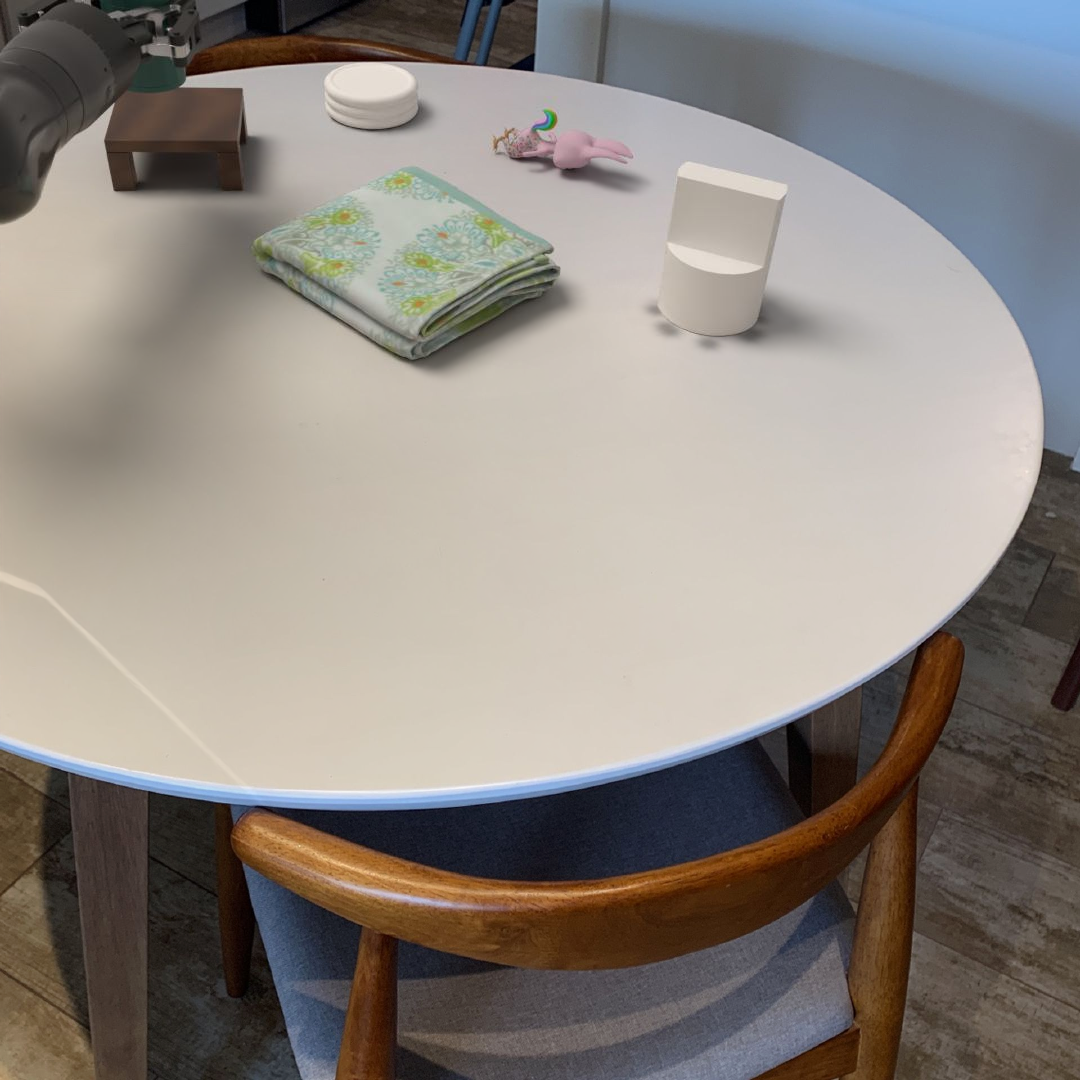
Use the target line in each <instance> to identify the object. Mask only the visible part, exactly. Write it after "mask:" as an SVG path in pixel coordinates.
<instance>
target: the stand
mask: <svg viewBox="0 0 1080 1080" xmlns="http://www.w3.org/2000/svg"><path fill="white" fill-rule="evenodd" d="M247 125H248V124H247V116H246V107H245V97H244V88H243V87H197V86H196V87H195V86H194V87H193V86H192V87H189V86H188V87H185V86H180V87H178V88H176V89H173V90H170V91H166V92H160V93H137V92H131V91H128V90H127V91H126V92H125V93H124V94H123V95H122V96H121V97H120V98H119V99H118V100H117V101H116V102H115V103H114V104H113V108H112V110H111V115H110V118H109V121H108V125H107V128H106V132H105V135H104V139H103V143H104V148H105V153H106V158H107V162H108V169H109V174H110V180H111V185H112V190H113V191H136V187H137V185H138V176H137V171H136V164H135V159H134V153H216V157H217V158H216V159H217V164H218V173H219V180H220V187H221V190H222V191H243V190H244V182H245V181H244V171H243V170H244V169H243V161H242V154H241V153H242V152H241V144H247V143H248V135H249V134H248V126H247Z"/></svg>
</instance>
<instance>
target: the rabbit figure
mask: <svg viewBox="0 0 1080 1080" xmlns="http://www.w3.org/2000/svg"><path fill="white" fill-rule="evenodd" d="M541 111H542V112H543V113H544V115H546V118H542V119H539V120H537V121H535V122H534V123H533V124H532V126H530V127H524V129H522V130H519V129H518V128H516V127H515V126H514V127H511V128H510V129H507V127H506V126H504V135H500V137H498V138H496V136H495V134H492V136H493V141H492V143H493V144H492V148H493V149H492V152H494V153H497V151H498V148H499V142H502V144H503V145H504V149H505V151H506V154H508V155H509V156H510V157H511V158H513V159H520V158H531V157H539V158H545V157H548V156H551V155H553V157H552V161H553V164H554V166H556V168H559V169H562V168H563V169H562V170H567V169H566V168H568V169H569V168H573V169H574V168H575V169H579V168H583V167H585V166H587V165H588V164H589V163H590V162H591V161H592V159H599V158H601V159H610V160H613V161H616V162H618V163H620V164H625V165H627V164H628V161H627V160H626V159H624V158H623V157H626V158H628V159H634V155H633V153H632V152H631V150H630V149H629V148H628V147H627V145H625V144H624V143H623V142H622V141H619V140H616V139H612V138H595V137H593V136H592V135H590V134H589V133H587V132H585V131H582V130H578V129H577V130H574V129H573V130H567V131H565V132H563V133H562V134H560V135H559V136H558V138H557V136H556V135H555V134H554V132H553V131H551V130H553V129H554V128H555V127H556V126H557V124H558V116H557V114H556V112H555V111H554V110H551V109H549V108H547V109H546V108H545V109H542V110H541ZM538 130H539V131H543V132H547V131H548V137H549V138H550V140H546V139H544V138H542V137H541V135H540V133H539V132H538ZM510 134H512V135H513V137H510Z"/></svg>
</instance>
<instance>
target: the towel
mask: <svg viewBox="0 0 1080 1080" xmlns="http://www.w3.org/2000/svg"><path fill="white" fill-rule="evenodd" d="M250 251H251V254H252V255H253V257H254V259H255V261H256V263H257V264H258V266H259V267H260V268H261V270H262V271H264V272H265V273H267V274H272V275H274V276H276V277H277V278H278V279H281V280H282V281H283V282H284V283H285V284H286V285H287V286H288V287H289V288H291V289H293V290H294V291H296V292H298V293H299V294H301V295H302V296H303V297H305V298H307V299H308V300H311V301H312V302H313V303H315V304H316V305H318V306H319V307H321V308H322V309H324V310H325V311H326V312H328V313H330V314H331V315H333V316H335V317H336V318H338V319H340V320H341V321H343V322H344V323H346V324H348V325H349V326H350V327H352V328H354V329H355V330H356V331H358V332H360V333H361V334H363V335H364V336H366V337H368V338H369V339H371V340H372V341H373V342H375V343H376V344H377V345H380V346H381V347H382V348H383V347H384V348H385V349H387V350H389V351H390V352H393V353H394V354H396V355H398V356H400V357H403V358H406V359H409V360H410V361H414V360H418V359H421V358H425V357H428V356H429V355H430V354H431V353H434V352H436V351H437V350H439V349H441V348H442V347H444V346H445V345H447V344H449V343H450V342H452V341H454V340H456V339H458V338H460V337H461V336H463V335H465V334H466V333H469V332H471V331H472V330H475V329H476V328H478V327H480V326H481V325H484V324H485V323H488V322H489V321H490V320H492V319H494V318H496V317H497V316H499V315H501V314H502V313H504V312H505V311H506V310H508V309H510V308H511V307H514V306H515V305H518V303H520V302H522V301H524V300H526V299H534V298H539V297H541V296H542V294H543V292H547V291H549V290H550V289H553V288H554V287H555V284H556V282H557V280H558V279H557V278H558V277H560V275H561V266H560V265H558V264H556V263H555V261H554V260H553V259H551V258H549V256H547V255H551V254H553V253H554V251H555V247H554V246H553V245H552V244H551V243H550V242H549V241H547V240H546V239H544V238H543V237H540V236H539V235H537V234H534V233H532V232H530V231H528V230H526V229H524V228H522V227H521V226H519V225H517V224H516V223H514V222H513V221H510V219H507V218H506V217H504V216H502V215H500V214H499V213H497V212H496V211H494V210H493V209H491V208H490V207H489V206H486V205H485V204H484V203H482V202H481V201H479V200H477V198H474V197H472V196H471V195H470V194H468V193H466V192H464V191H463V190H462V189H459V188H458V187H457V186H455V185H453V184H451V183H449V182H448V181H446V180H444V179H442V178H440V177H439V176H436V175H434V174H433V173H431V172H429V171H427V170H424V169H422V168H420V167H419V166H414V165H412V166H411V165H410V166H404V167H401V168H399V169H398V170H394V171H391V172H390V173H388V174H385V175H382V176H381V177H378V178H376V179H374V180H372V181H370V182H368V183H365V184H363V185H362V186H359V187H357V188H355V189H354V190H353V189H352V190H350V191H349V192H347V193H344V194H342V195H341V196H339V197H336V198H333V199H331V200H329V201H327V202H325V203H322V204H321V205H318V206H316V207H314V208H312V209H311V210H309V211H307V212H306V211H305V212H304V213H302V214H300V215H298V216H296V217H294V218H292V219H290V220H288V221H286V222H285V223H282V224H280V225H278V226H276V227H275V228H273V229H271V230H268V231H267V232H265V233H264V234H262V235H260V236H259V237H257V238H255V239H254V240H253V241H252V245H251V247H250Z"/></svg>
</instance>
